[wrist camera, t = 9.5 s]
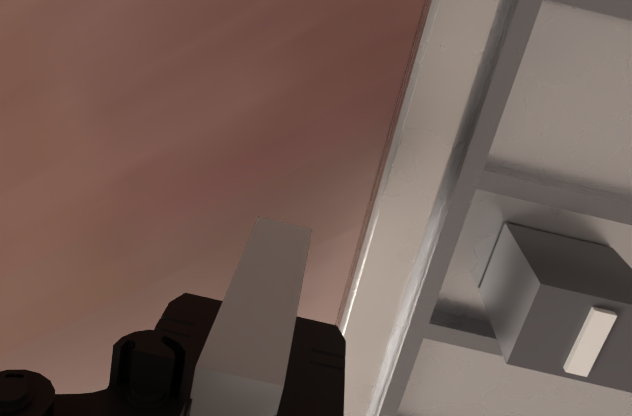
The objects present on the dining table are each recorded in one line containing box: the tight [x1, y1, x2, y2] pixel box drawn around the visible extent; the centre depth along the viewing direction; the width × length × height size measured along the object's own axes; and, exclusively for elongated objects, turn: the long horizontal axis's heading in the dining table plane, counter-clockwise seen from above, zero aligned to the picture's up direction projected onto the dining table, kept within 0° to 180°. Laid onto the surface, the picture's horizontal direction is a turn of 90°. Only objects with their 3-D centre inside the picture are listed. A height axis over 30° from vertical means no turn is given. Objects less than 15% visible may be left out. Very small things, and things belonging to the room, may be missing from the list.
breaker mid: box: [479, 223, 632, 393], centre depth 17 cm, size 3×4×4 cm
